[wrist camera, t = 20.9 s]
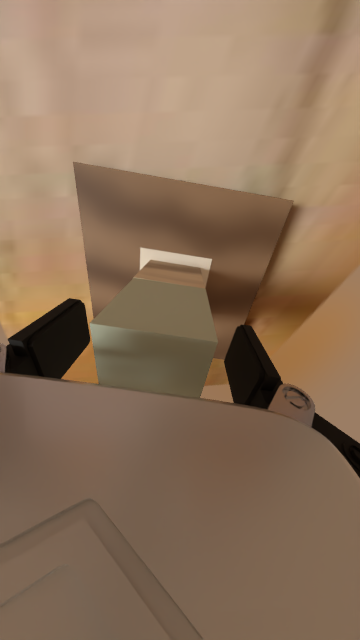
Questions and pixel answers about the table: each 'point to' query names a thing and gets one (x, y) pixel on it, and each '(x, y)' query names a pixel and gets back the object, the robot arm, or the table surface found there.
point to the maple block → (171, 273)
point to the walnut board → (177, 237)
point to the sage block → (155, 338)
